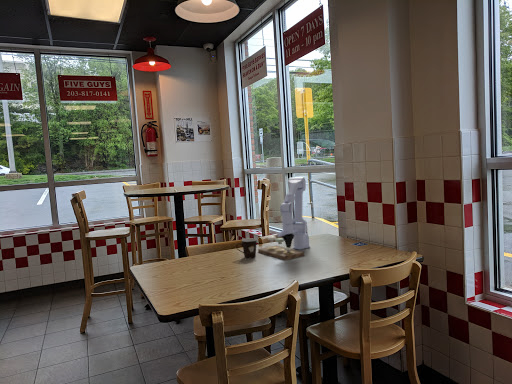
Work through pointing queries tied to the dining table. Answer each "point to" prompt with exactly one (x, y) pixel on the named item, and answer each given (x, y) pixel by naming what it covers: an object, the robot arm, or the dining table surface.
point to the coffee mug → (248, 247)
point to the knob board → (280, 252)
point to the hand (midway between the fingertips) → (288, 247)
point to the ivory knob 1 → (272, 238)
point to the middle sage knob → (279, 240)
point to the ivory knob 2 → (288, 249)
